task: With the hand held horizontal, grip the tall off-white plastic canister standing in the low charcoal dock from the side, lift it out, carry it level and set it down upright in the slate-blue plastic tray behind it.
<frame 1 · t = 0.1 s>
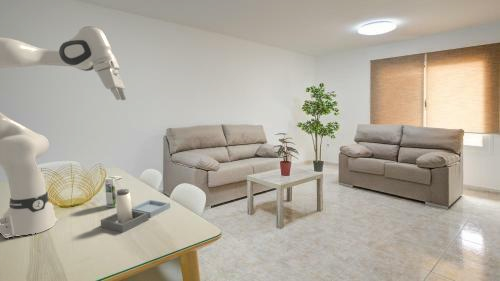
hand: (121, 99, 113), 52 cm above the table, tool tilted 20°, fingers open, 8 cm apart
syrup box: (115, 205, 136), on the table
dock: (125, 223, 114), on the table
tray: (150, 210, 128), on the table
canister: (124, 207, 113), in the dock
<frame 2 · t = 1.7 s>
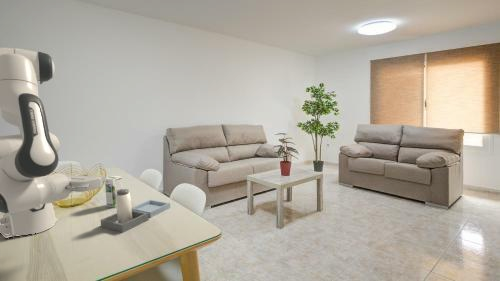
hand: (95, 177, 102), 23 cm above the table, tool horizontal, fingers open, 8 cm apart
nothing on the table moved.
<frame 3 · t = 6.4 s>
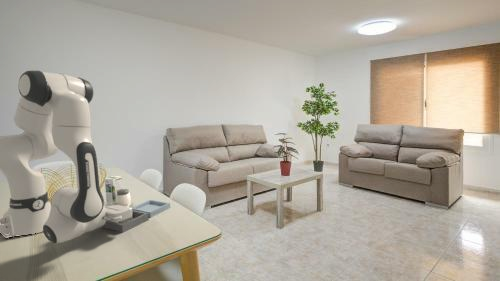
hand: (125, 204, 114), 8 cm above the table, tool horizontal, fingers closed on canister, 6 cm apart
canister: (124, 207, 113), in the dock, touching gripper
everything else where it was.
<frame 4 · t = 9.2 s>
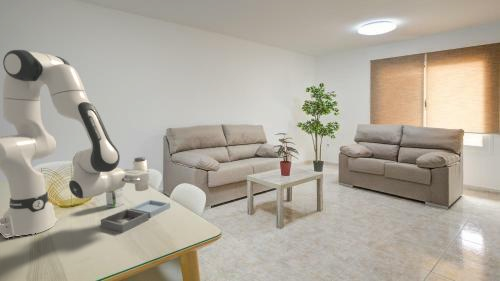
hand: (142, 171, 122), 20 cm above the table, tool horizontal, fingers closed on canister, 6 cm apart
canister: (140, 173, 121), point 19 cm above the table, touching gripper
everything else where it was.
when the fingers open (10 cm above the table, at t = 12.4 s): canister drops 1 cm, resting on tray.
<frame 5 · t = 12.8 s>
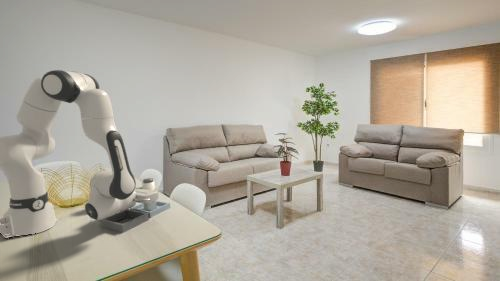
hand: (150, 189, 128), 10 cm above the table, tool horizontal, fingers open, 8 cm apart
canister: (149, 194, 127), in the tray, point 8 cm above the table
everything else where it was.
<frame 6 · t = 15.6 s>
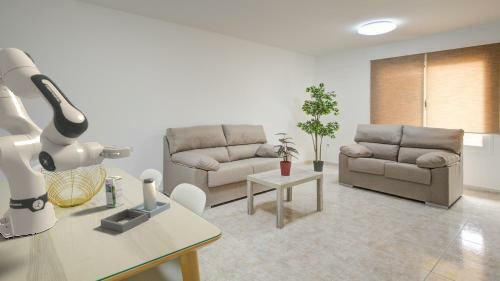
hand: (123, 148, 113), 32 cm above the table, tool horizontal, fingers open, 8 cm apart
nothing on the table moved.
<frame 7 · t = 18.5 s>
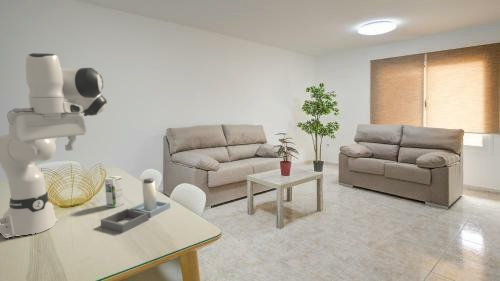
hand: (53, 152, 84), 35 cm above the table, tool pointing down, fingers open, 8 cm apart
nothing on the table moved.
at the end: canister inside the target area on the tray (0.1 cm from its centre), point 7.9 cm above the tray's base; canister tilted 0°; the gripper is holding nothing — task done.
